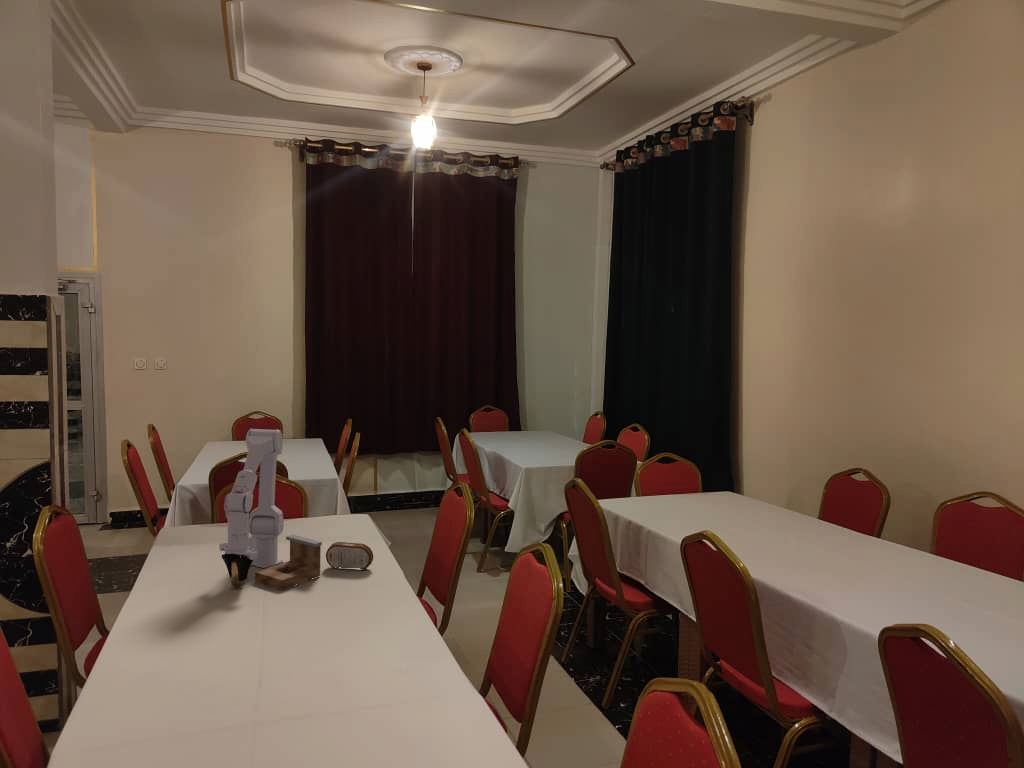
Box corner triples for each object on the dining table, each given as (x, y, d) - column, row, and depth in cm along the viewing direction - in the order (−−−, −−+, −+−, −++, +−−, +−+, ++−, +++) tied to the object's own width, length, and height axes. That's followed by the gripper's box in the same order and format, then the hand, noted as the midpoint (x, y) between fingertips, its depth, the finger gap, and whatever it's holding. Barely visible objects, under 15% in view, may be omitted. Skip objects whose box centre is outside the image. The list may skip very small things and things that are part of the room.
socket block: (253, 581, 212) (254, 545, 211) (292, 568, 224) (292, 534, 223) (283, 590, 205) (284, 553, 204) (321, 576, 217) (321, 541, 217)
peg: (228, 585, 206) (228, 561, 205) (239, 581, 209) (239, 558, 208) (236, 587, 204) (236, 564, 203) (247, 584, 207) (247, 560, 206)
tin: (373, 569, 226) (373, 543, 226) (370, 572, 223) (371, 546, 223) (327, 566, 228) (328, 540, 227) (324, 569, 225) (324, 543, 224)
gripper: (210, 531, 205) (210, 577, 206) (243, 540, 198) (242, 588, 199) (231, 526, 211) (231, 570, 212) (263, 535, 204) (263, 580, 205)
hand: (238, 578), depth 206 cm, fingers closed on peg, 4 cm apart
